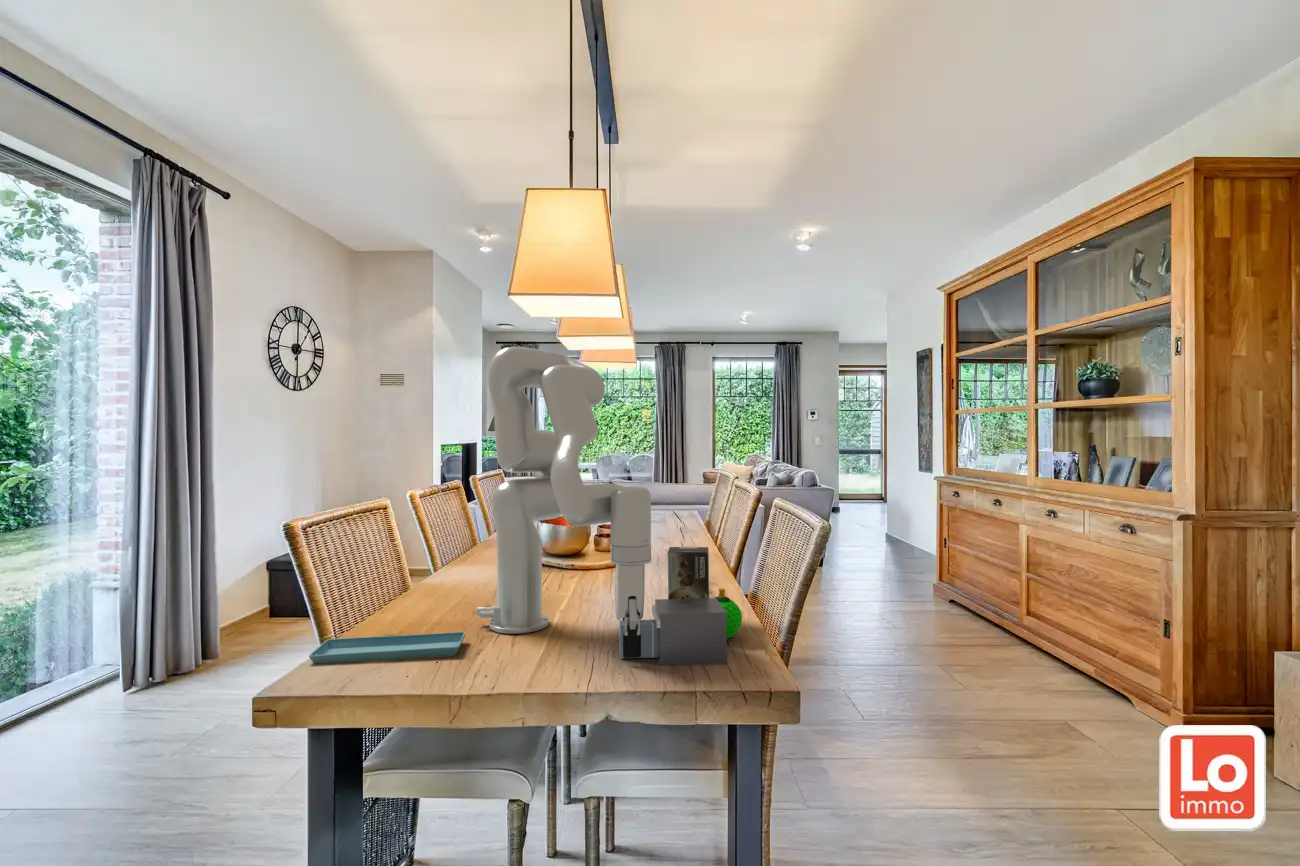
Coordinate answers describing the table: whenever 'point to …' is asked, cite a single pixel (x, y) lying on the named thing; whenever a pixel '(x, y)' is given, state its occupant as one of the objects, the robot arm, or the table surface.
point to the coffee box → (688, 572)
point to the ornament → (730, 613)
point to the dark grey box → (691, 631)
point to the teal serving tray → (388, 647)
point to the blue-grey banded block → (644, 638)
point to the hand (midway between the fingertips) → (630, 648)
